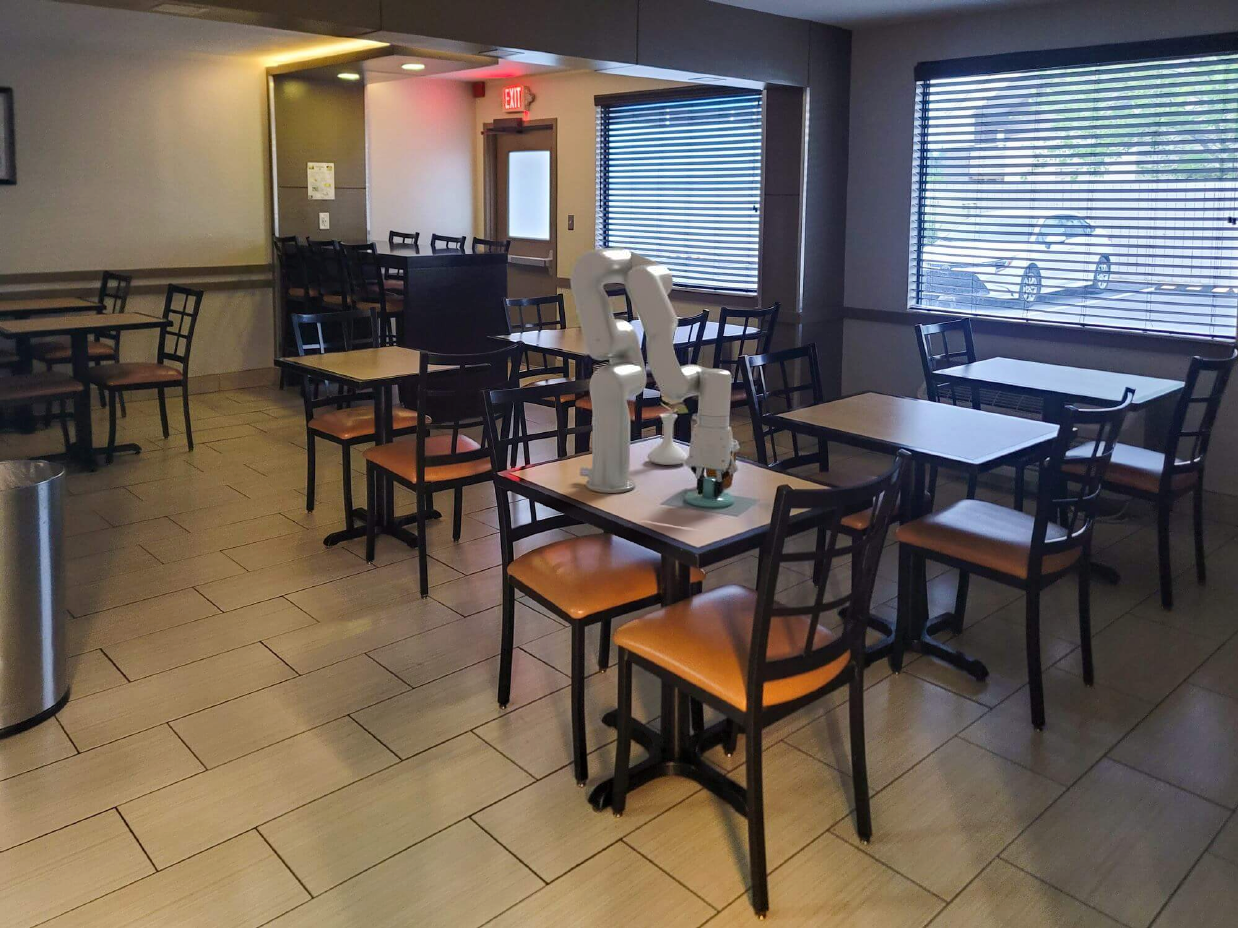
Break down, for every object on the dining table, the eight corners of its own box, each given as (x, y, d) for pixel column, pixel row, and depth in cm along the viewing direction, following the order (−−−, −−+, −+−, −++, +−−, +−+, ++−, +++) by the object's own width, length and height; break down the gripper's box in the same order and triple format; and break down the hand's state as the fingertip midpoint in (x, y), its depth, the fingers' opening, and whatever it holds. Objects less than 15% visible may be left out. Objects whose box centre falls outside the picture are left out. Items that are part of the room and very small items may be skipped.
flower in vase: (638, 462, 281) (640, 374, 275) (667, 456, 288) (669, 371, 282) (671, 471, 272) (674, 381, 265) (699, 465, 279) (703, 377, 273)
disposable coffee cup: (735, 492, 252) (738, 446, 250) (698, 489, 254) (700, 444, 251) (739, 482, 262) (741, 438, 259) (703, 480, 263) (704, 436, 260)
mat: (659, 505, 240) (659, 503, 240) (685, 490, 254) (685, 488, 253) (737, 518, 231) (737, 516, 231) (760, 501, 245) (760, 499, 245)
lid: (677, 503, 240) (678, 481, 238) (695, 491, 250) (696, 470, 249) (723, 510, 235) (725, 488, 233) (740, 498, 245) (742, 476, 244)
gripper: (675, 419, 238) (672, 493, 242) (740, 428, 230) (736, 503, 235) (687, 414, 244) (684, 486, 249) (751, 422, 237) (747, 496, 242)
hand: (709, 493), depth 242 cm, fingers closed on lid, 3 cm apart
